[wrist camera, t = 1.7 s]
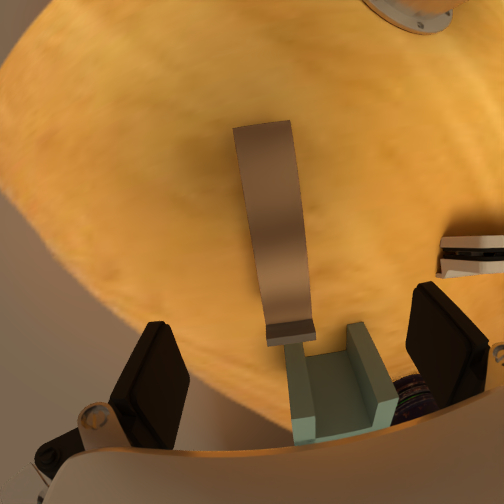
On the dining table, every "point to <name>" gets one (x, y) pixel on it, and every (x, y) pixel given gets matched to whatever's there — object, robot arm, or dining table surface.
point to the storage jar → (412, 399)
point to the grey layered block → (471, 256)
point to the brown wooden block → (276, 229)
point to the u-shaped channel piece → (339, 390)
